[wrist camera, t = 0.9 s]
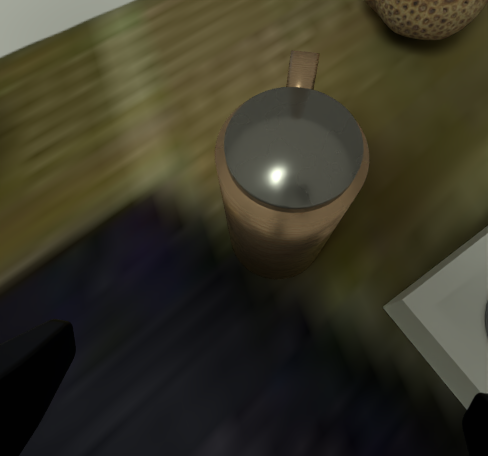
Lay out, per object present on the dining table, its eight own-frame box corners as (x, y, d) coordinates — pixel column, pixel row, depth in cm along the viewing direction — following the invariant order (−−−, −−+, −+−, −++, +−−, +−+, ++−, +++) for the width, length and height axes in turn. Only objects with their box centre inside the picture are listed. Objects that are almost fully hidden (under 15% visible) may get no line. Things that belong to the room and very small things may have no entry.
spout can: (317, 286, 22) (374, 225, 11) (223, 271, 22) (196, 200, 12) (327, 174, 24) (381, 43, 14) (243, 162, 25) (236, 28, 15)
